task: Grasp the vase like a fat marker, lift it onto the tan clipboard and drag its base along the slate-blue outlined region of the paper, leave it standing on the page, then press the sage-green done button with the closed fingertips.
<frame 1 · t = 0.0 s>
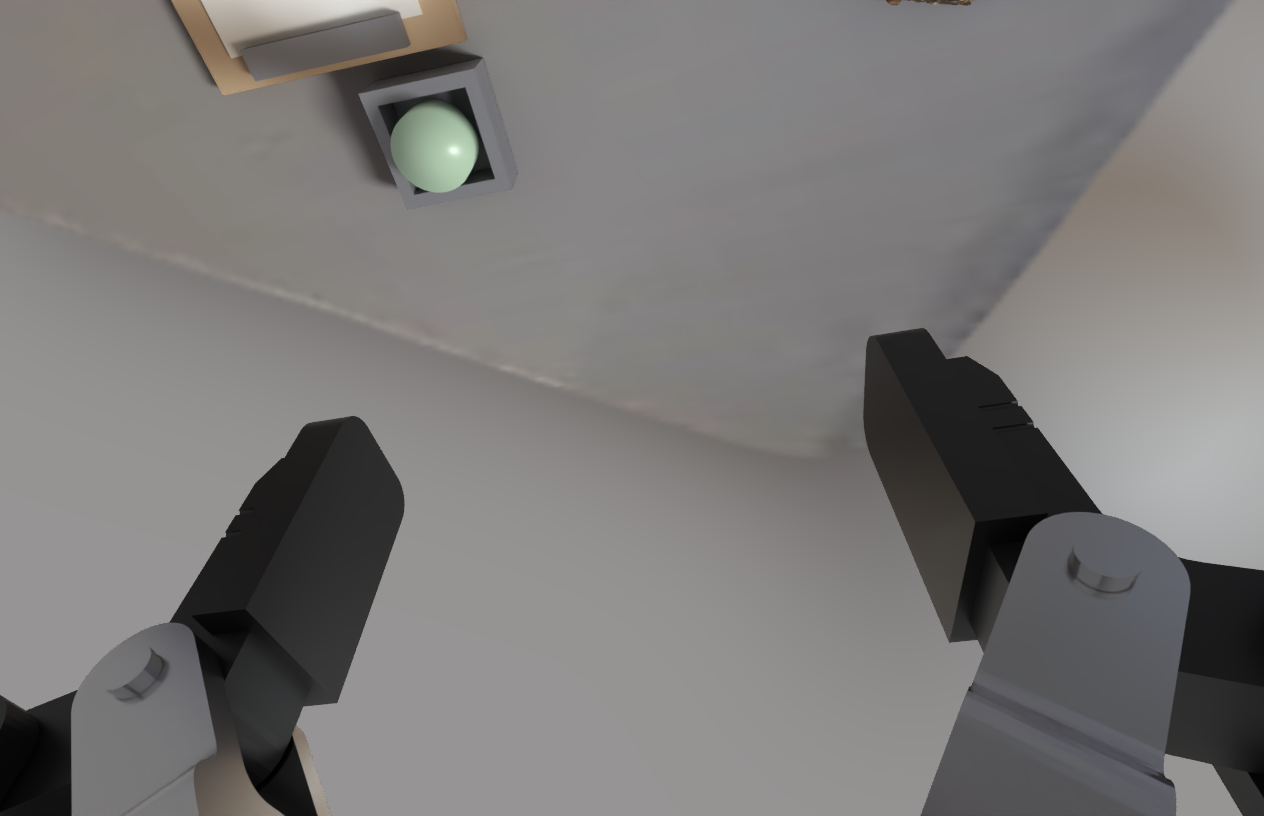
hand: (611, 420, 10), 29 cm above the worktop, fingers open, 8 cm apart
done button: (436, 146, 33), point 3 cm above the worktop, slide at 0.0 cm
button housing: (448, 129, 36), on the worktop
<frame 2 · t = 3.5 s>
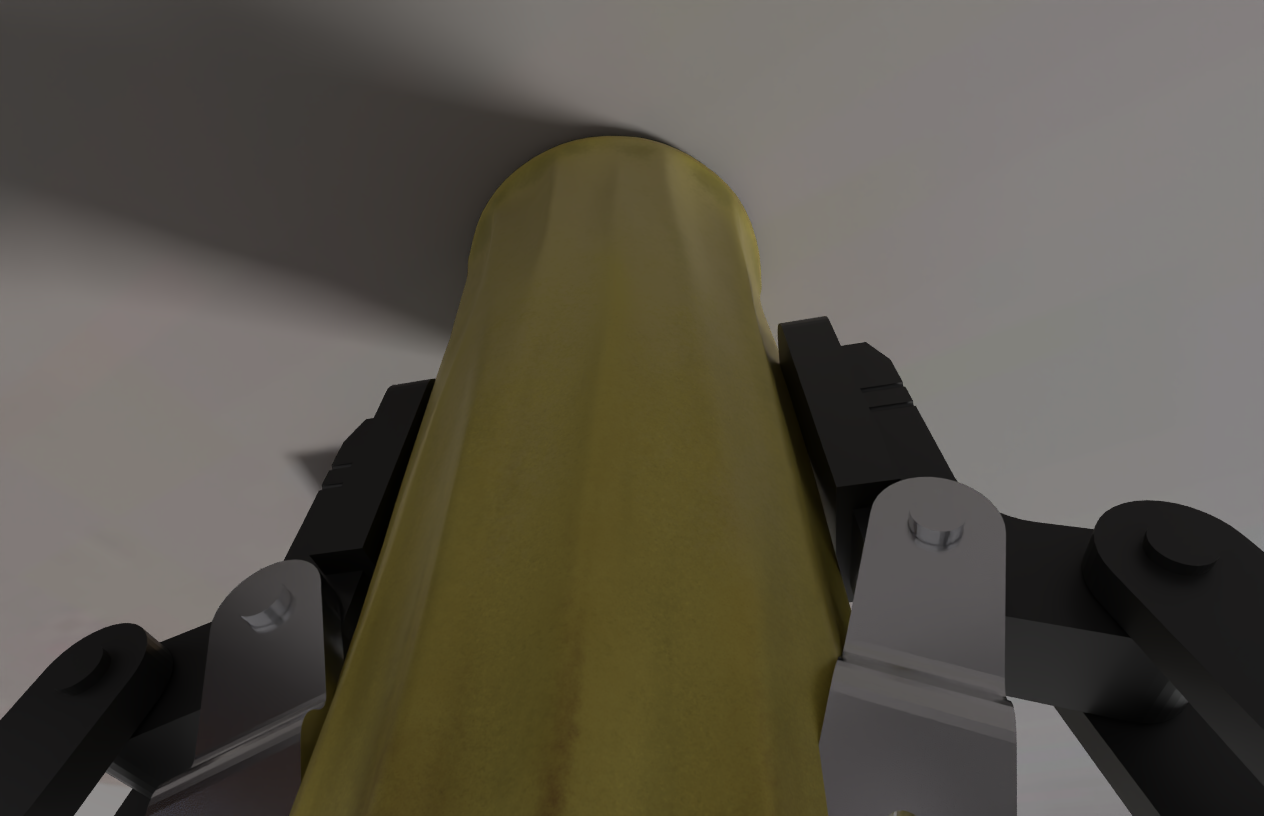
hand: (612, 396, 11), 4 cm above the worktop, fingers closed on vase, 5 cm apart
vase: (615, 275, 14), on the worktop, touching gripper
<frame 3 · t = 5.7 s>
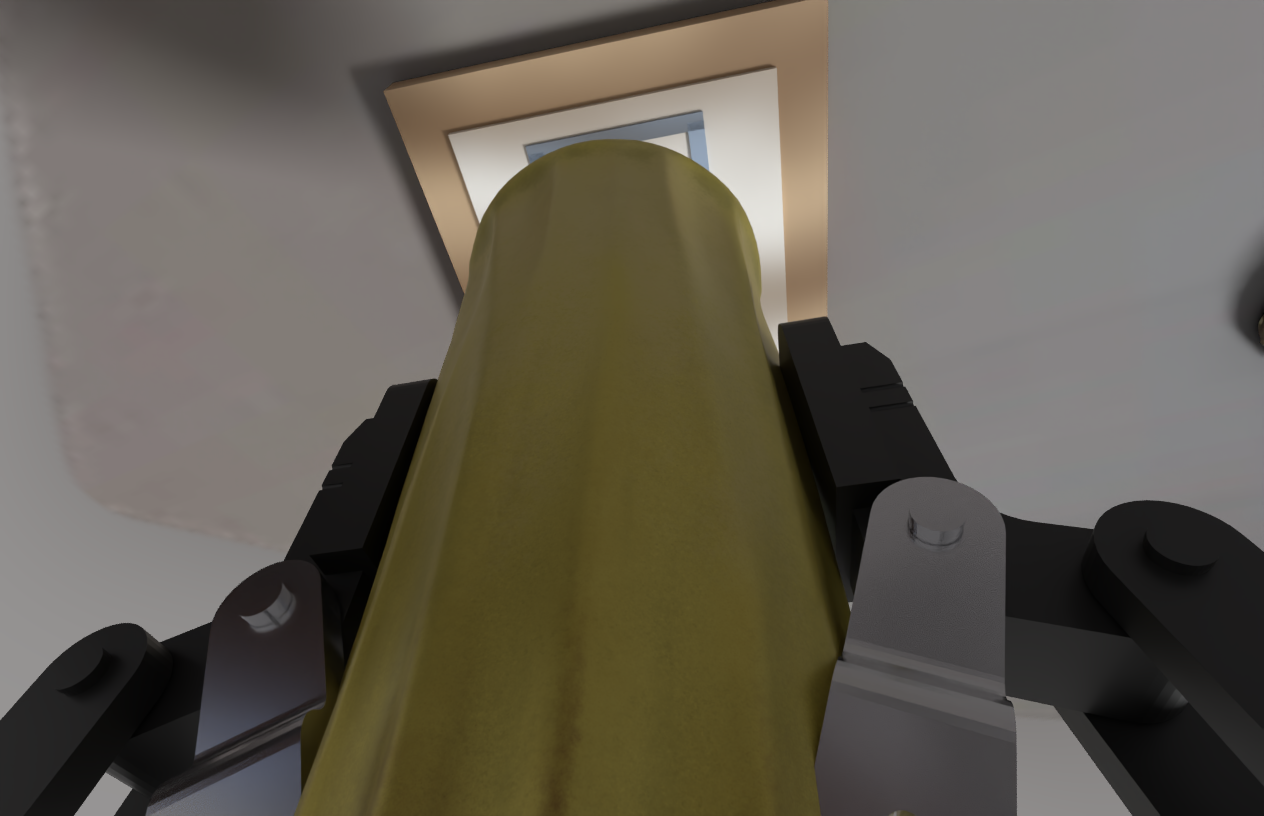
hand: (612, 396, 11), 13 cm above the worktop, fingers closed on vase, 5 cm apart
vase: (616, 277, 14), point 9 cm above the worktop, touching gripper
clipboard: (644, 276, 24), on the worktop
when the fingers open (5 cm above the worktop, at t = 8.2 s): vase stays where it is, resting on clipboard.
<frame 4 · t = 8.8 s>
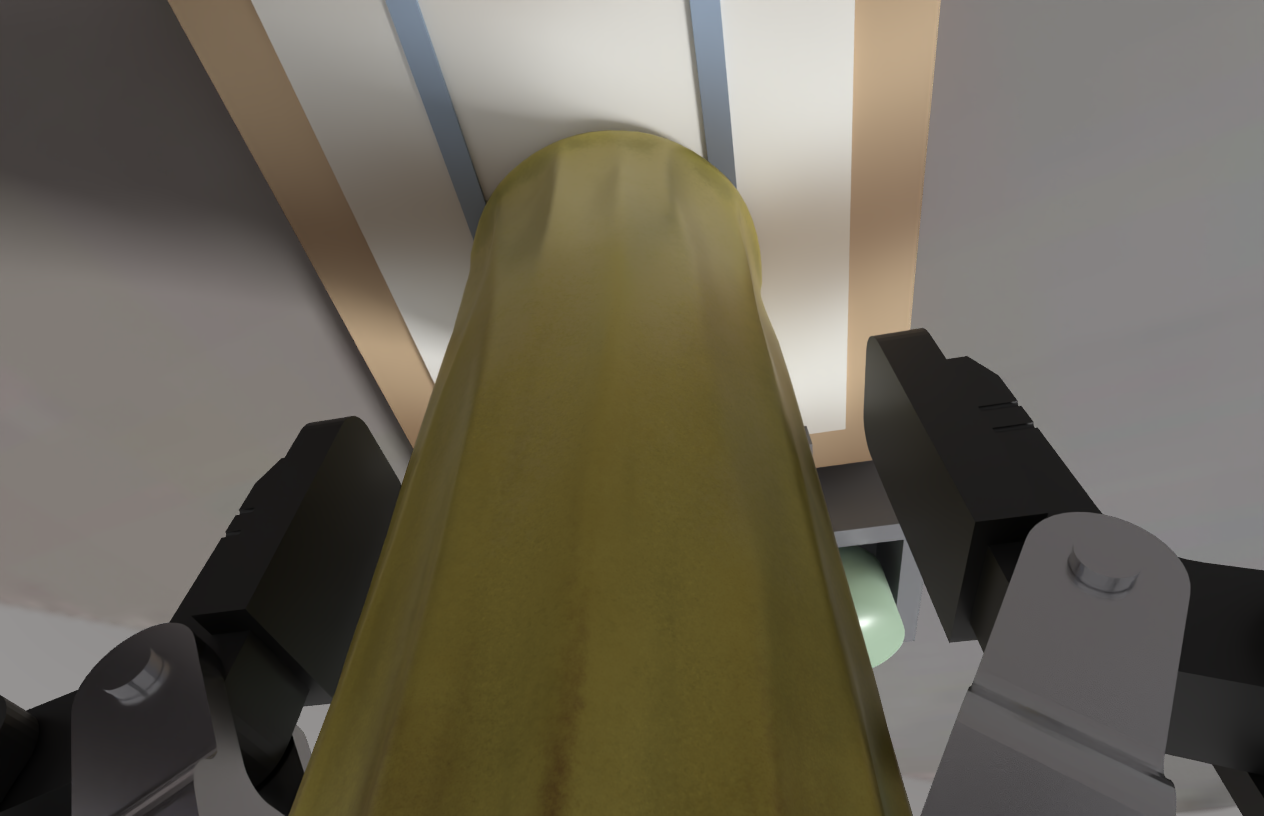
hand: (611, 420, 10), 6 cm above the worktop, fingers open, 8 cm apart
done button: (823, 612, 19), point 3 cm above the worktop, slide at 0.0 cm
vase: (616, 269, 14), point 1 cm above the worktop, touching clipboard
clipboard: (607, 210, 15), on the worktop
button housing: (802, 532, 21), on the worktop
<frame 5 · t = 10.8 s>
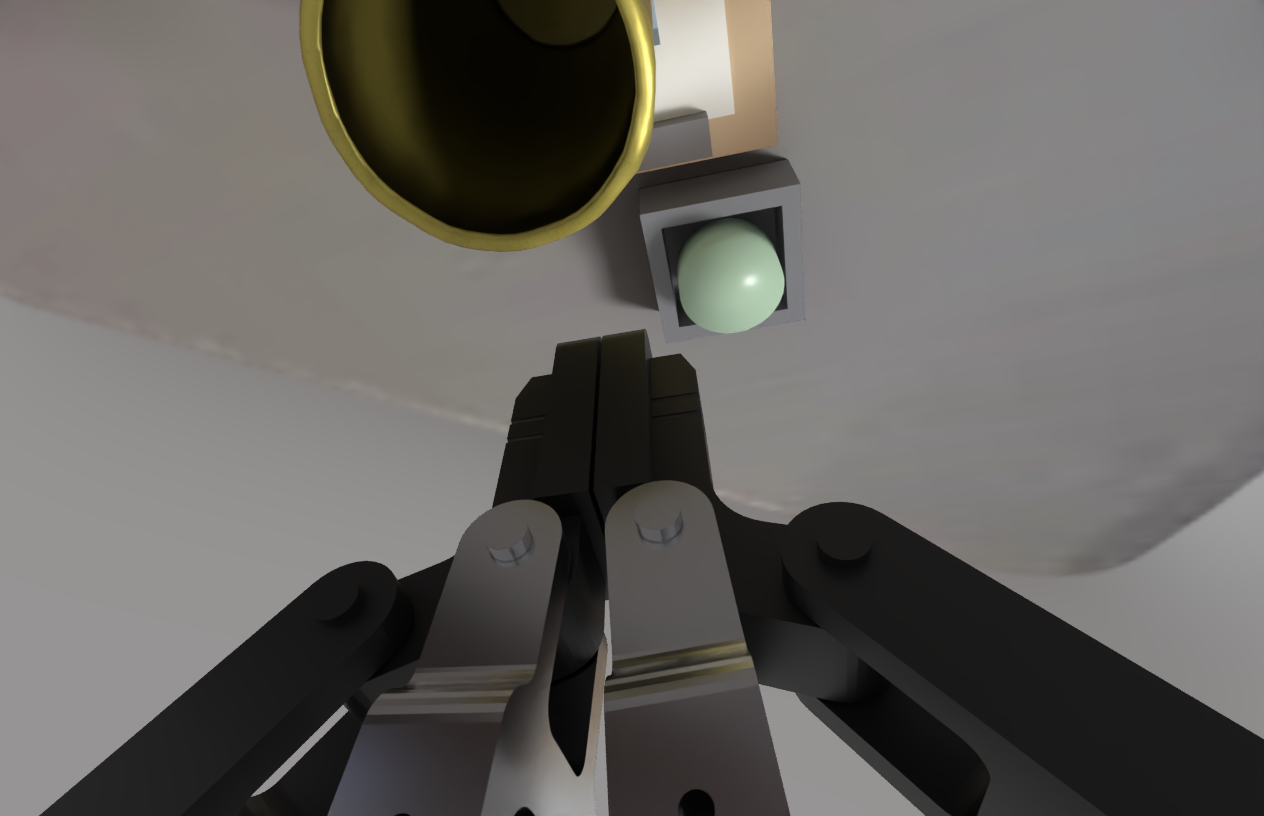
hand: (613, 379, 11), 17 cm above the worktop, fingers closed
done button: (728, 276, 26), point 3 cm above the worktop, slide at 0.0 cm
button housing: (720, 242, 28), on the worktop
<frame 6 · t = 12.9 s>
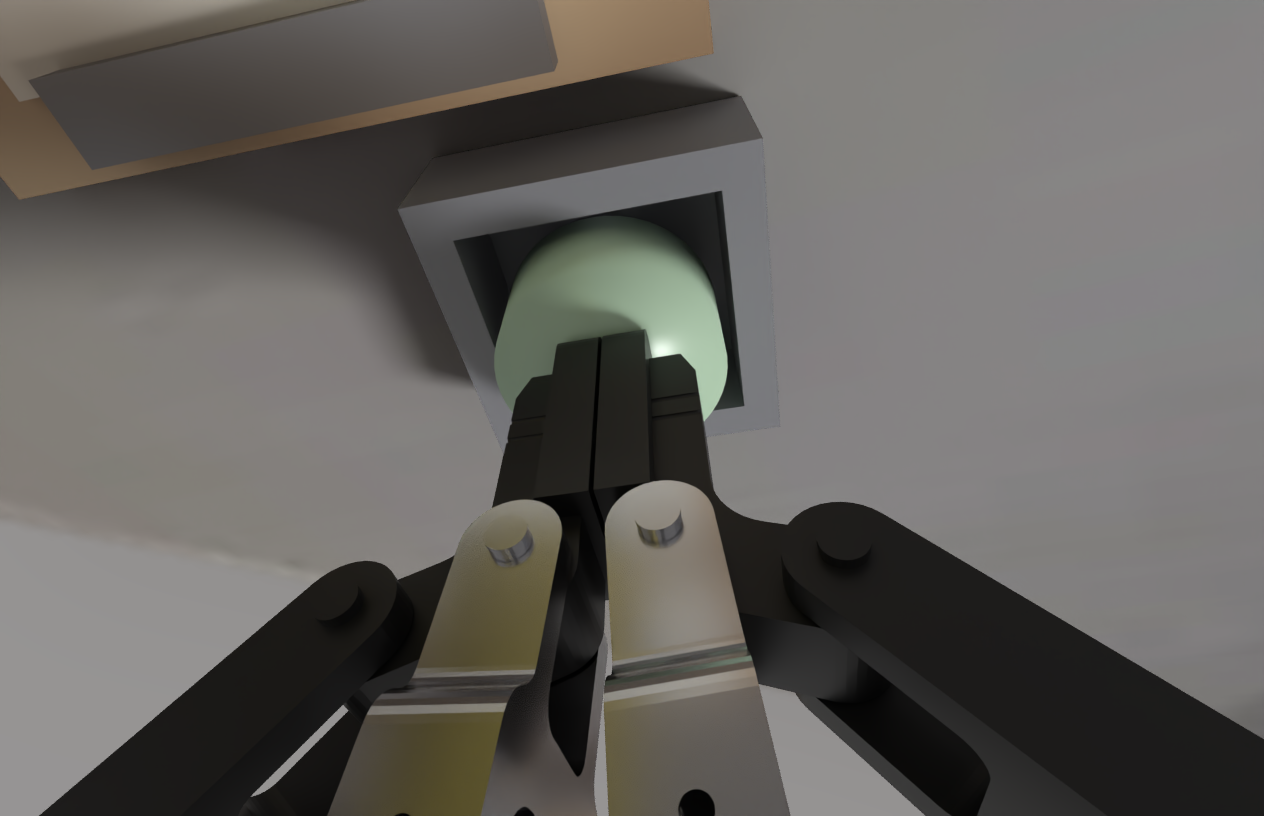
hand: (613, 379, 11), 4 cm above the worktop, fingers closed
done button: (612, 341, 12), point 3 cm above the worktop, slide at 0.2 cm, touching gripper
button housing: (614, 269, 14), on the worktop
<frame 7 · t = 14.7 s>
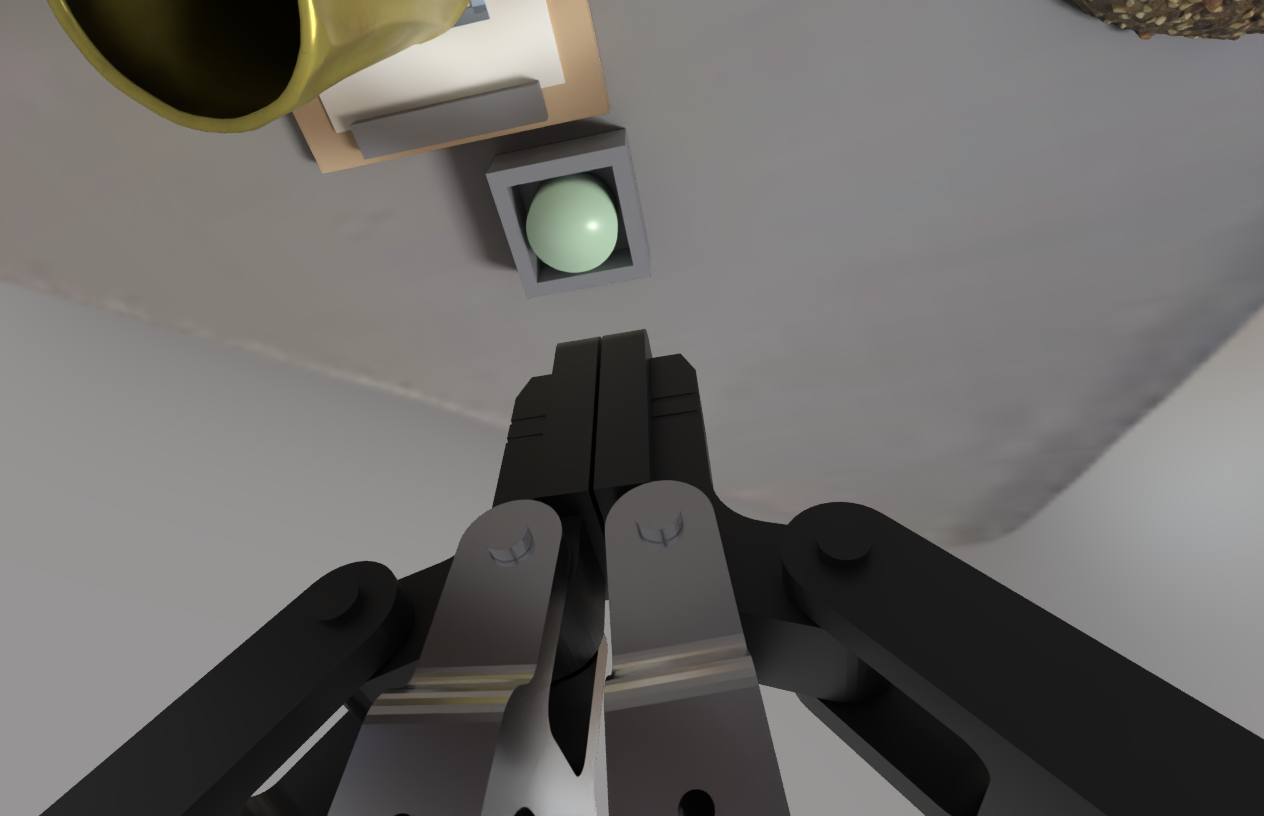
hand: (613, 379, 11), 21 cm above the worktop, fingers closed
done button: (573, 222, 29), point 2 cm above the worktop, slide at 1.2 cm
button housing: (576, 206, 31), on the worktop
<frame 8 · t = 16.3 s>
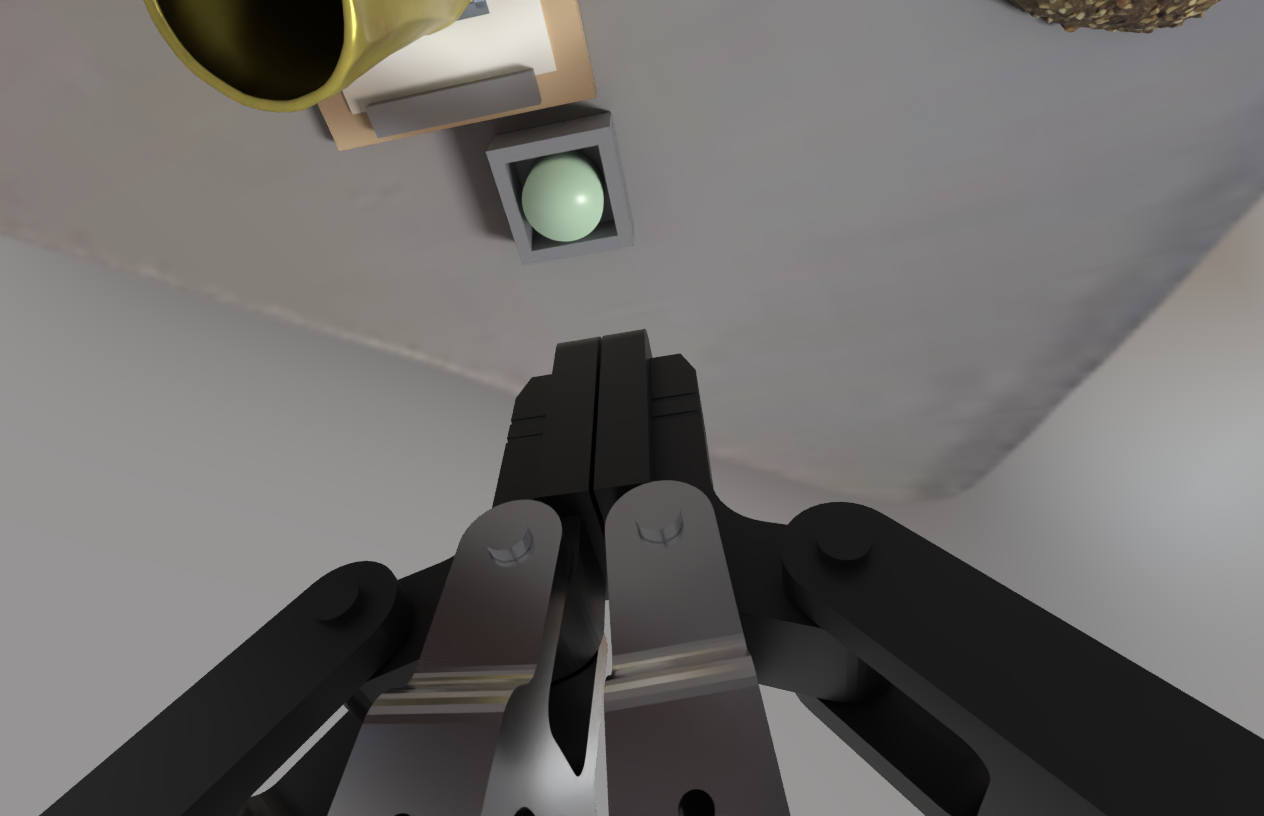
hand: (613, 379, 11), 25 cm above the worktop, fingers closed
done button: (564, 195, 33), point 2 cm above the worktop, slide at 1.2 cm
button housing: (566, 182, 34), on the worktop
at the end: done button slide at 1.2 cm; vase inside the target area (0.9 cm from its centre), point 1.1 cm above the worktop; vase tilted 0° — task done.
